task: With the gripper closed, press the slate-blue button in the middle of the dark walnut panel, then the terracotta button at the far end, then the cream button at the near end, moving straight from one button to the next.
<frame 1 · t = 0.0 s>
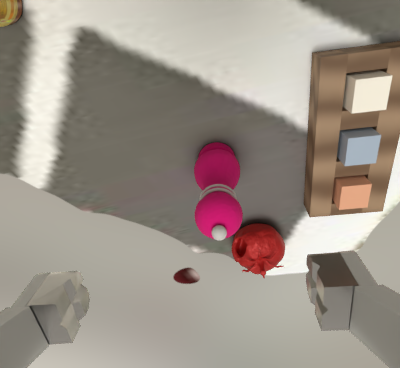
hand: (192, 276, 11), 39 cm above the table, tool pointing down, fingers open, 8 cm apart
cream button: (365, 91, 41), point 5 cm above the table, slide at 0.0 cm
button panel: (345, 134, 49), on the table
terracotta button: (350, 191, 49), point 5 cm above the table, slide at 0.0 cm
slate button: (357, 146, 45), point 5 cm above the table, slide at 0.0 cm
red tomato: (255, 235, 61), on the table
pepper mill: (216, 158, 52), on the table
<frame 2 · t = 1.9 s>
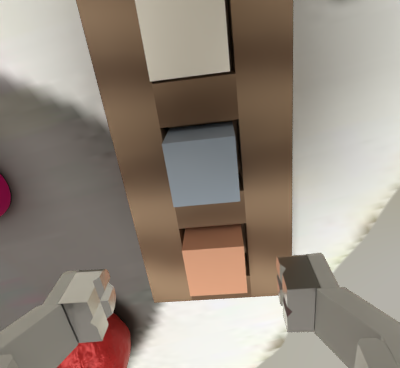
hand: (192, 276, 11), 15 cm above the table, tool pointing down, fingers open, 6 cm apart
cream button: (186, 32, 17), point 4 cm above the table, slide at 0.0 cm
button panel: (205, 142, 25), on the table
terracotta button: (215, 257, 24), point 4 cm above the table, slide at 0.0 cm
slate button: (203, 163, 21), point 4 cm above the table, slide at 0.0 cm
red tomato: (95, 322, 35), on the table
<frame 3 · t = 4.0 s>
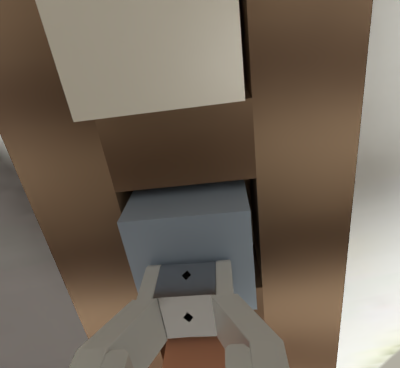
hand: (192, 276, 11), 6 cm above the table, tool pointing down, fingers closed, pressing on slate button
cream button: (152, 16, 8), point 4 cm above the table, slide at 0.0 cm
button panel: (198, 195, 16), on the table
slate button: (194, 239, 12), point 4 cm above the table, slide at 0.8 cm, touching gripper
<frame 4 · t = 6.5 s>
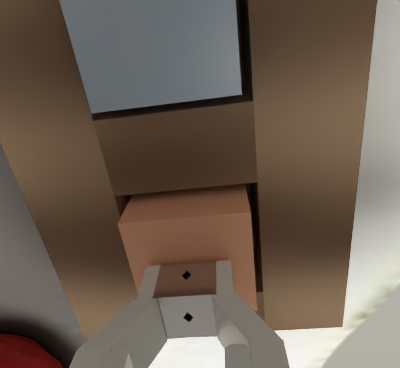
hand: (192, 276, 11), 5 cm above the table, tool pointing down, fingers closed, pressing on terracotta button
button panel: (172, 24, 12), on the table
terracotta button: (194, 240, 12), point 4 cm above the table, slide at 1.0 cm, touching gripper
slate button: (160, 20, 9), point 3 cm above the table, slide at 1.4 cm
red tomato: (18, 357, 22), on the table
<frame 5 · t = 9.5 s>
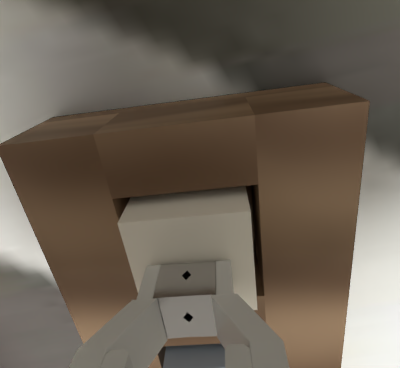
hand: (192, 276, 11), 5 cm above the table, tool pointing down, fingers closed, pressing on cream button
cream button: (194, 239, 12), point 3 cm above the table, slide at 1.2 cm, touching gripper
button panel: (215, 313, 19), on the table
slate button: (216, 361, 16), point 3 cm above the table, slide at 1.4 cm
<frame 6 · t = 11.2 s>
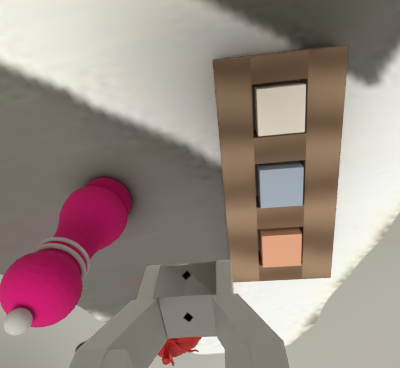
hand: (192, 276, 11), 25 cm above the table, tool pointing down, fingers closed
cream button: (277, 107, 30), point 3 cm above the table, slide at 1.4 cm
button panel: (273, 171, 36), on the table
terracotta button: (279, 242, 36), point 3 cm above the table, slide at 1.4 cm
slate button: (278, 181, 33), point 3 cm above the table, slide at 1.4 cm
red tomato: (174, 301, 46), on the table
pepper mill: (108, 198, 39), on the table
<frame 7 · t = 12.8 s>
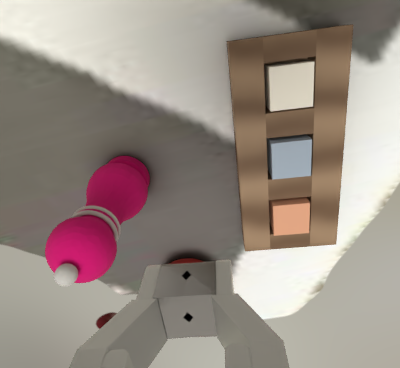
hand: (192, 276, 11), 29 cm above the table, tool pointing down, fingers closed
cream button: (287, 85, 33), point 3 cm above the table, slide at 1.4 cm
button panel: (282, 146, 39), on the table
terracotta button: (288, 212, 39), point 3 cm above the table, slide at 1.4 cm
slate button: (288, 154, 36), point 3 cm above the table, slide at 1.4 cm
pepper mill: (127, 176, 42), on the table
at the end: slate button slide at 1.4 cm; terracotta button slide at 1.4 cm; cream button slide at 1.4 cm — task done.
